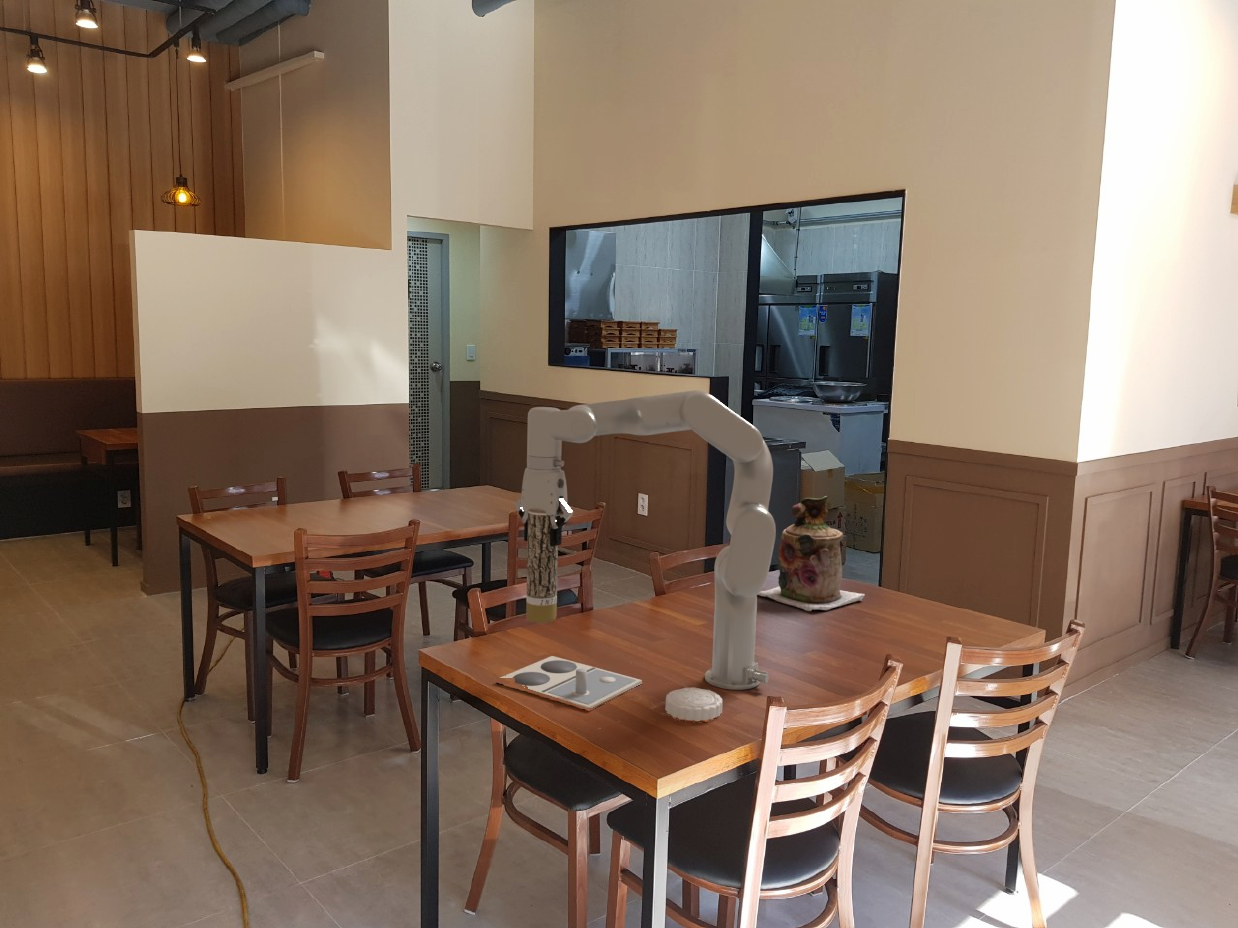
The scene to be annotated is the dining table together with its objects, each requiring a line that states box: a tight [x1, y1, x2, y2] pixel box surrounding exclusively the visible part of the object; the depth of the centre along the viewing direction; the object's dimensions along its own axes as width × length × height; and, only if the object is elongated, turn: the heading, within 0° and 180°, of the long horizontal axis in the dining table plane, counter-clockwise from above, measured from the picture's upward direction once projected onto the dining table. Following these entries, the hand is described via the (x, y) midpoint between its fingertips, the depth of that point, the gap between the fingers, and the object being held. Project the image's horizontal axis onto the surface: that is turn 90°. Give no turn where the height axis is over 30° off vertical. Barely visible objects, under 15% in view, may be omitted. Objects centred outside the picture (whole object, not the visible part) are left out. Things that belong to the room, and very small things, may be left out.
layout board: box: [499, 655, 643, 708], centre depth 216 cm, size 26×20×6 cm
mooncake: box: [664, 686, 723, 721], centre depth 202 cm, size 12×12×4 cm
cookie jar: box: [757, 495, 865, 612], centre depth 289 cm, size 25×25×32 cm
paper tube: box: [525, 510, 559, 624], centre depth 214 cm, size 7×7×25 cm
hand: (542, 542), depth 214 cm, fingers closed on paper tube, 6 cm apart
